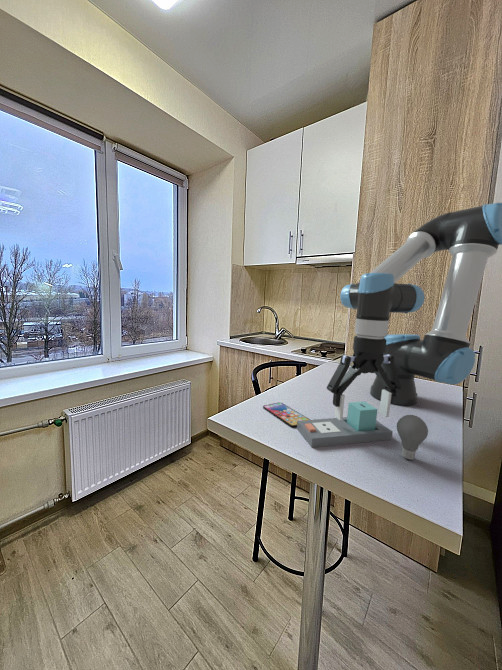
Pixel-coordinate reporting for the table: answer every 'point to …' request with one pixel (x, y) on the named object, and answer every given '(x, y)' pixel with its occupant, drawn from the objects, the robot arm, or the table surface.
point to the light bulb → (411, 434)
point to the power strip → (339, 432)
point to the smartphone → (285, 414)
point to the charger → (361, 416)
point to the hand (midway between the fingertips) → (361, 416)
